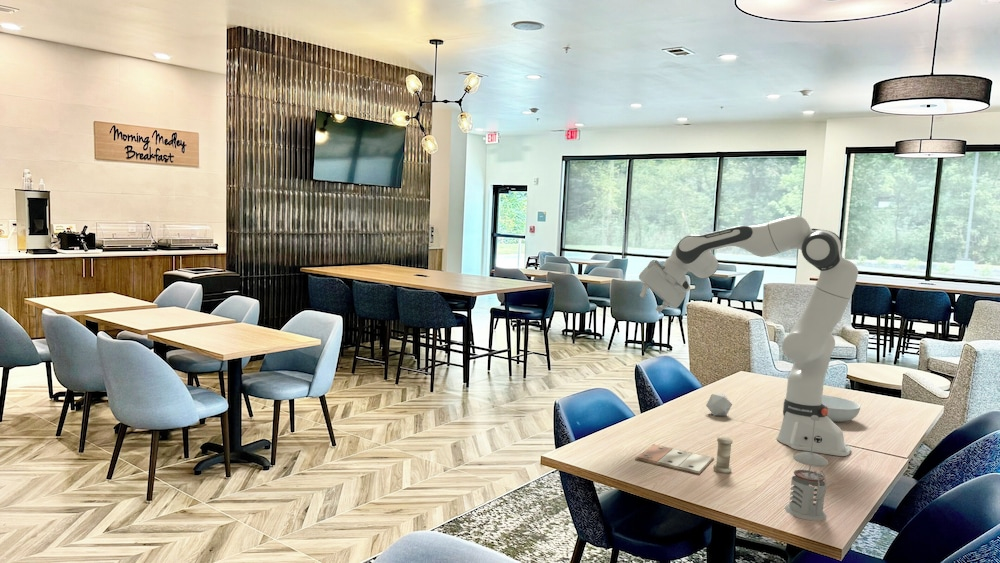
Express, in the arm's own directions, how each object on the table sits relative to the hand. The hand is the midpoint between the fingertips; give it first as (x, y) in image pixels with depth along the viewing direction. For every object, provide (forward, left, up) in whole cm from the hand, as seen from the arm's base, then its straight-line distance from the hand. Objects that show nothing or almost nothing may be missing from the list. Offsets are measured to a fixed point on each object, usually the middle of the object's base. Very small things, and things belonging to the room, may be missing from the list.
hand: (649, 304), depth 250 cm
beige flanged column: (-39, +40, -42) cm, 69 cm away
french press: (-64, +58, -42) cm, 96 cm away
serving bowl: (-59, -49, -42) cm, 87 cm away
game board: (-25, +40, -42) cm, 63 cm away
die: (-23, -23, -42) cm, 53 cm away
